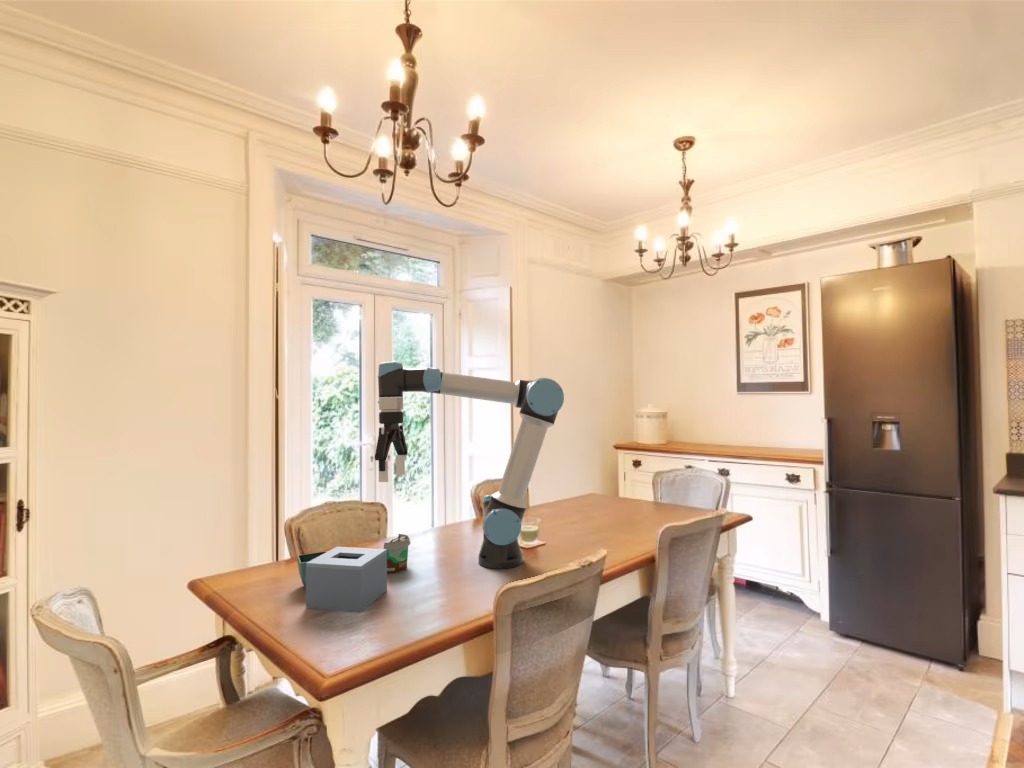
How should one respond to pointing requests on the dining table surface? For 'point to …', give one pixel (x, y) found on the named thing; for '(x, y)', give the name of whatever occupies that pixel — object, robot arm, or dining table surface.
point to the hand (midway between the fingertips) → (392, 478)
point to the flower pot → (302, 564)
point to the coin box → (346, 578)
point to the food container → (397, 553)
